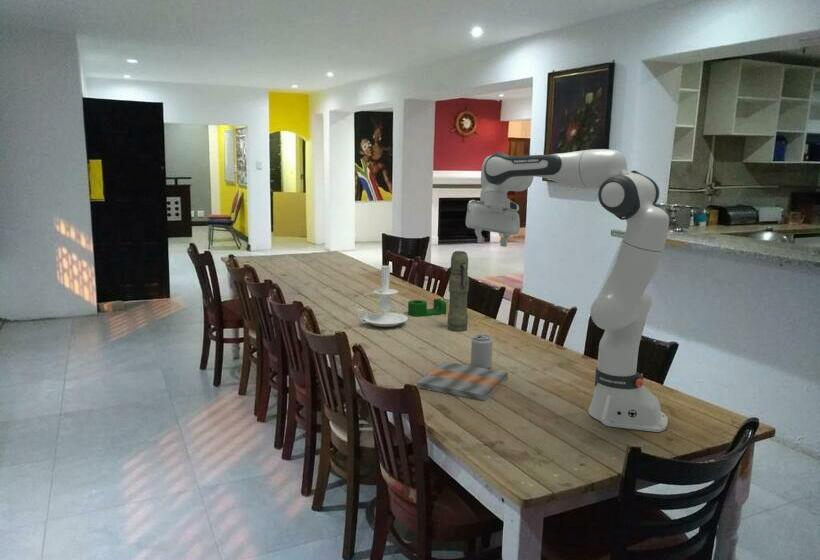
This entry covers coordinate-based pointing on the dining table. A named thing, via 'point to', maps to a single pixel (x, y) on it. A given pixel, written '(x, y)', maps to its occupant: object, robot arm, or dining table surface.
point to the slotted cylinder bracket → (420, 308)
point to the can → (481, 351)
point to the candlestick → (384, 305)
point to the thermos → (458, 292)
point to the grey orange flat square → (463, 380)
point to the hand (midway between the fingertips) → (492, 244)
